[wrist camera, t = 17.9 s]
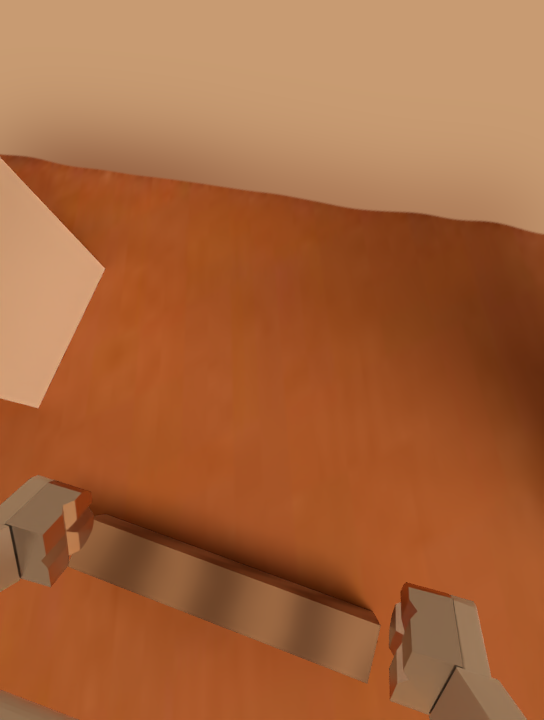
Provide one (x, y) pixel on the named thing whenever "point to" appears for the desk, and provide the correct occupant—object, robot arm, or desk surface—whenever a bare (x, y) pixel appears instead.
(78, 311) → the stand
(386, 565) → the desk surface
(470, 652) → the robot arm
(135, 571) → the walnut bar
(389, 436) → the desk surface
